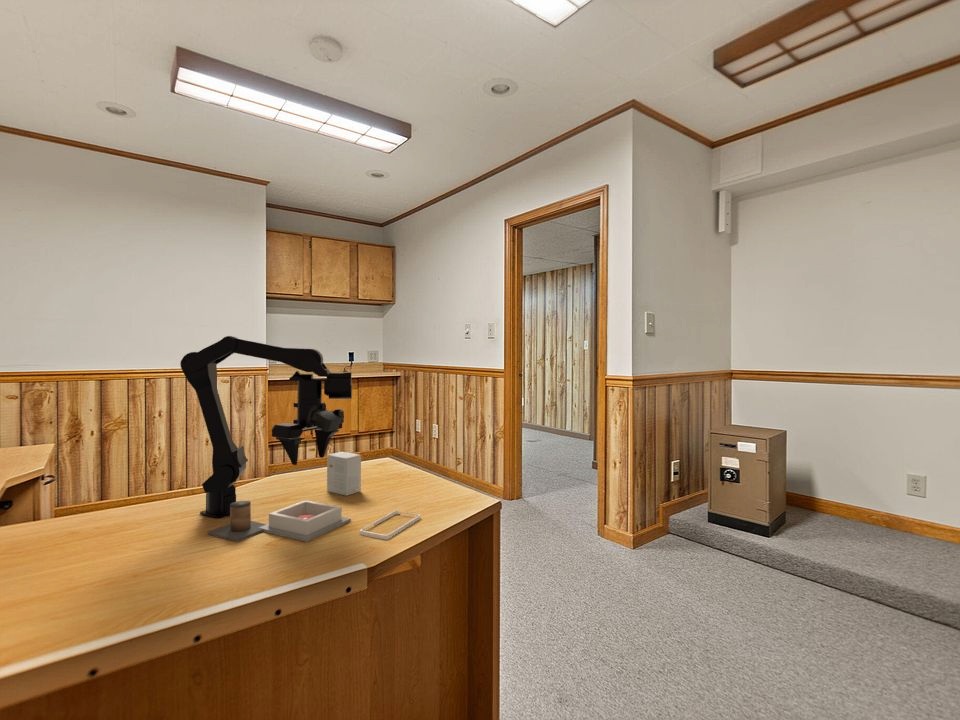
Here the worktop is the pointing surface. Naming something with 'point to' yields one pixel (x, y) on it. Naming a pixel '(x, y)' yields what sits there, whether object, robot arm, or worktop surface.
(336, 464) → the small box
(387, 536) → the phone case
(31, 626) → the worktop surface
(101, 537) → the worktop surface
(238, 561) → the worktop surface
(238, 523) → the dowel
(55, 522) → the worktop surface
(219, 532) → the pad
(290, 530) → the grey square tray
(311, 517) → the button
